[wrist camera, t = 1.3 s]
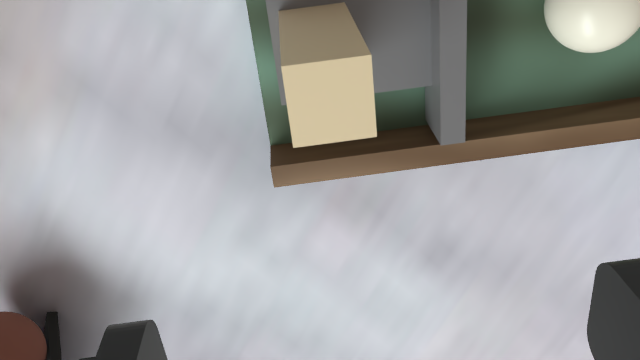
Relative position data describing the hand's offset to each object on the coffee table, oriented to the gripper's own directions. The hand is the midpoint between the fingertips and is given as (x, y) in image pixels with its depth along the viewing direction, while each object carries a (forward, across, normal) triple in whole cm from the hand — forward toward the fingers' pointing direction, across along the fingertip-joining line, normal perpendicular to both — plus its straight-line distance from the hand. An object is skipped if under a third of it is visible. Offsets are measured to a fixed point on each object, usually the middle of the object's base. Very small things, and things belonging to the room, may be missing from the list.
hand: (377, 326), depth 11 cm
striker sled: (+20, -2, 0) cm, 20 cm away
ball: (+18, -13, 0) cm, 23 cm away
